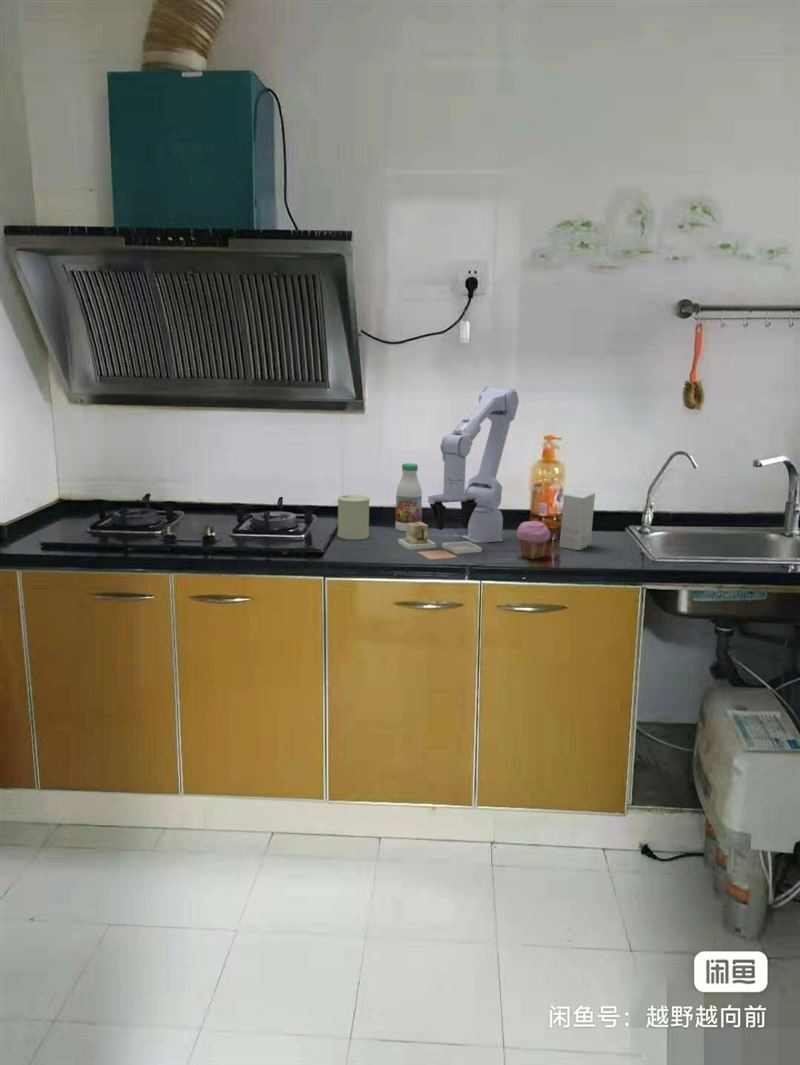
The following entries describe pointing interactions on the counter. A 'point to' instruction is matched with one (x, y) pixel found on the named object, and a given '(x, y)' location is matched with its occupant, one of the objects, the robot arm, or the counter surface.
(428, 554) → the terracotta pad
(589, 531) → the skincare box
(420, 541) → the brown block
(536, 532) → the cupcake
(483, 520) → the robot arm
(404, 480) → the milk bottle
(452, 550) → the light grey tray
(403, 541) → the sage green tray
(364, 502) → the can
